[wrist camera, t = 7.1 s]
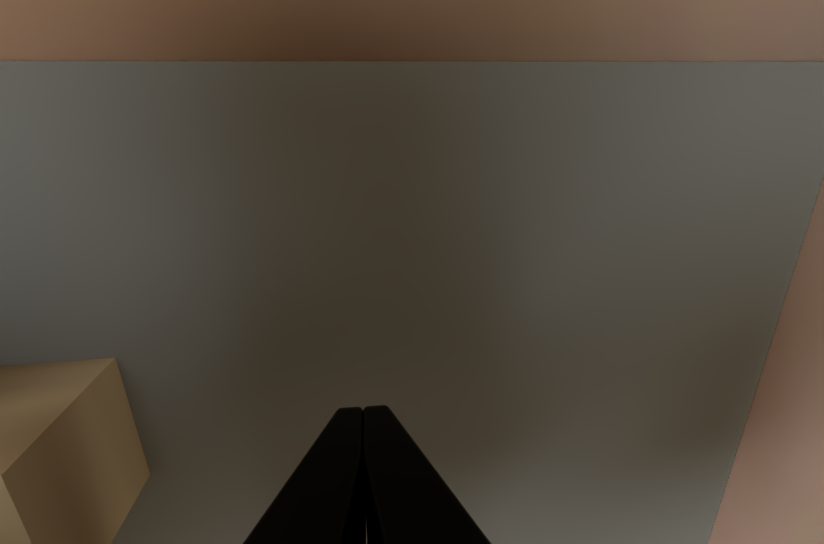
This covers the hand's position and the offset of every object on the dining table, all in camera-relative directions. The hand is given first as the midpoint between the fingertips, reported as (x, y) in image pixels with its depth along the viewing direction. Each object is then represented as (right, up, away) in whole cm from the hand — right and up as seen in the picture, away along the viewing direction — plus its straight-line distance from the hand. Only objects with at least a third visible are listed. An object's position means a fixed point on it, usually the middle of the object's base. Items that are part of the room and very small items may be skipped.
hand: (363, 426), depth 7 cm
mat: (-2, 0, +1) cm, 2 cm away
